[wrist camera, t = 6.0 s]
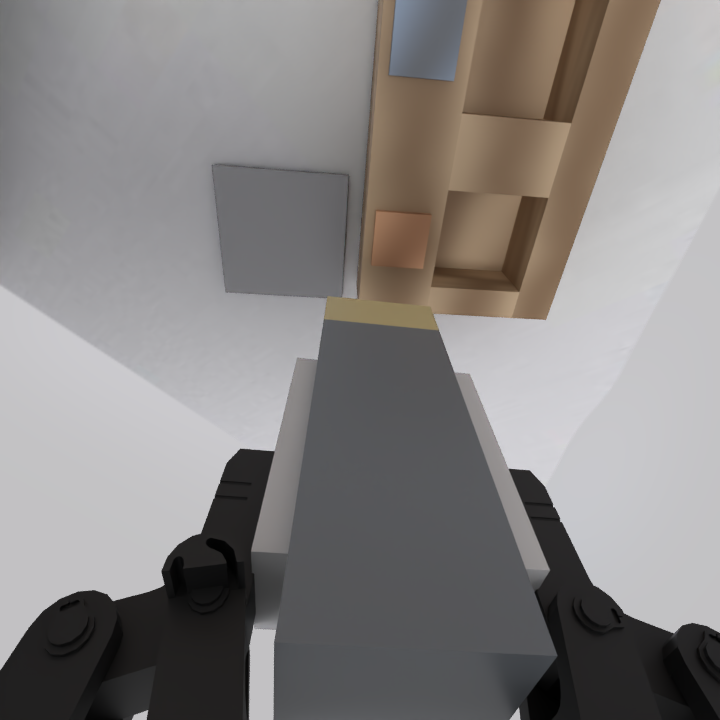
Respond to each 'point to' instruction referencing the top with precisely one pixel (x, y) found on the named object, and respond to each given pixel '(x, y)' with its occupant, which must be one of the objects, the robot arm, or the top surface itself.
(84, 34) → the top surface
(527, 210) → the socket board
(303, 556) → the plug
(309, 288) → the mat
